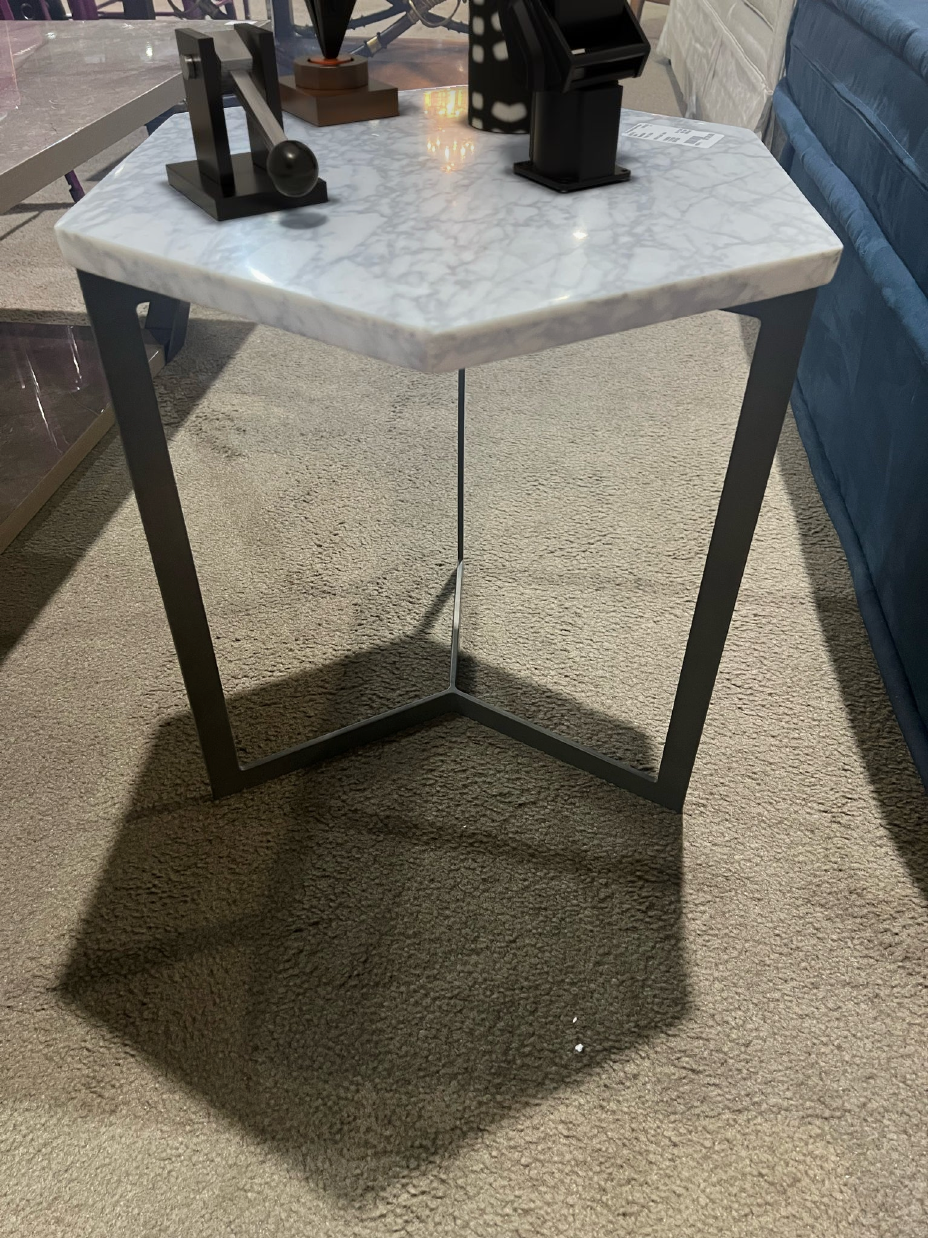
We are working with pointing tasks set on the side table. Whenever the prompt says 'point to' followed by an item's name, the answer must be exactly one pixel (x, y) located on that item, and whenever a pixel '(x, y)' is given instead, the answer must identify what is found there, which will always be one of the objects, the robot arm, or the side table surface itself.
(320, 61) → the button
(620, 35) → the robot arm
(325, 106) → the button block
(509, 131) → the spotted black cylinder
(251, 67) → the lever
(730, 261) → the side table surface
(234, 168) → the bracket
